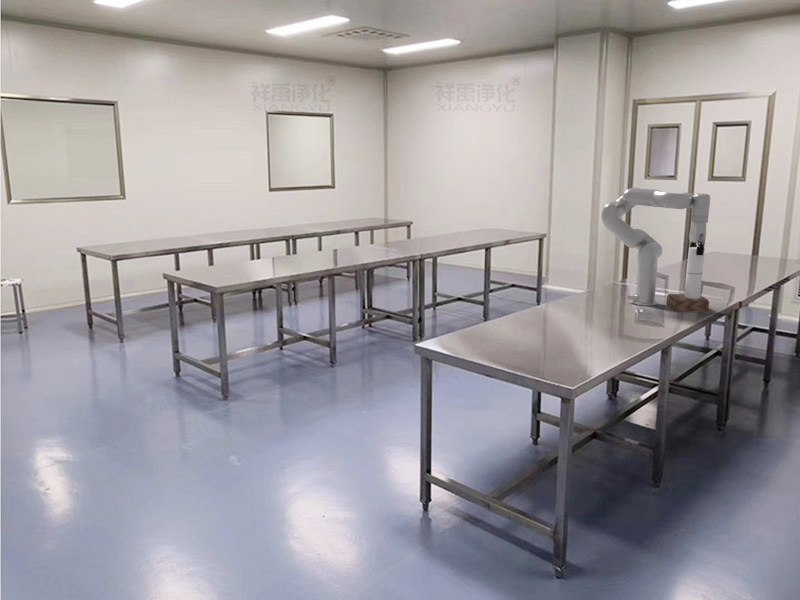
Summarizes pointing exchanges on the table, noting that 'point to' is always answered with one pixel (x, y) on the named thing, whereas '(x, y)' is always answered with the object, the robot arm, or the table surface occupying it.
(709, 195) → the robot arm
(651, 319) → the table surface
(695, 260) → the cylindrical container
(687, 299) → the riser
